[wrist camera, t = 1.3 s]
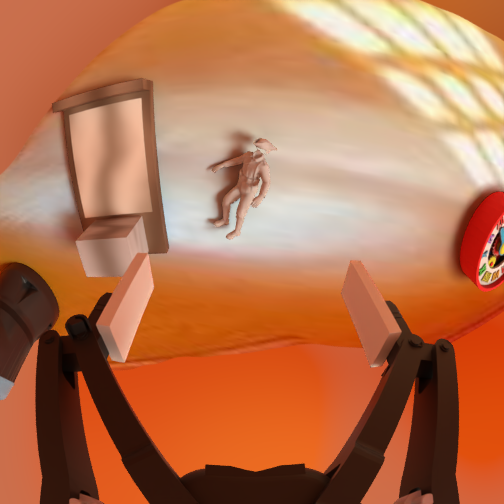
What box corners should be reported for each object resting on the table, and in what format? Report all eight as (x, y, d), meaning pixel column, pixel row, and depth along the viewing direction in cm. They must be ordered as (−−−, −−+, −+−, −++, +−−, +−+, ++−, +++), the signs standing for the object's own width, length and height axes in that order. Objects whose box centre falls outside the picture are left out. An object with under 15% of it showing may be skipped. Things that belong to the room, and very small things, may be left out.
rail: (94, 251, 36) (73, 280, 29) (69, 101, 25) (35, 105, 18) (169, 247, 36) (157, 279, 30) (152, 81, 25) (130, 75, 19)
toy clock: (480, 306, 42) (469, 249, 34) (466, 291, 47) (450, 233, 39) (530, 250, 36) (526, 182, 28) (515, 238, 41) (506, 172, 33)
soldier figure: (198, 211, 35) (216, 127, 27) (227, 200, 38) (249, 123, 30) (236, 250, 32) (266, 163, 24) (264, 236, 35) (298, 156, 27)
